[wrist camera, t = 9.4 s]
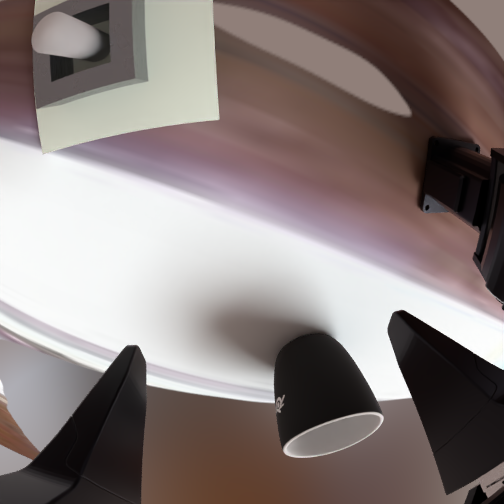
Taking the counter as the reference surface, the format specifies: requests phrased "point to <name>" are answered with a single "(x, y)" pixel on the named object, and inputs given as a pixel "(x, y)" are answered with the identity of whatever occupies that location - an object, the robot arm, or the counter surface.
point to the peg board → (137, 95)
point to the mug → (321, 398)
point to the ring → (103, 76)
